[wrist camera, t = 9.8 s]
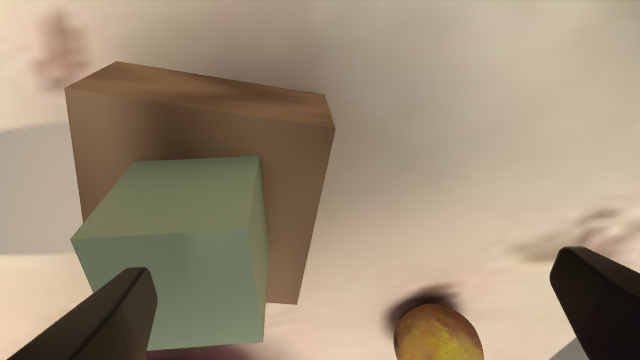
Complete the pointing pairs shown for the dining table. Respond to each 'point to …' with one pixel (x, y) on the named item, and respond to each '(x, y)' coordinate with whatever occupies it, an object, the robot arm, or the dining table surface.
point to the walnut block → (208, 145)
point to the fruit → (436, 335)
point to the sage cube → (187, 246)
